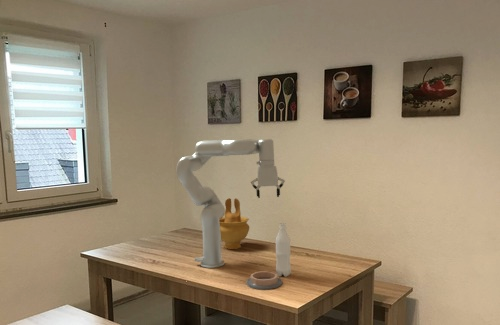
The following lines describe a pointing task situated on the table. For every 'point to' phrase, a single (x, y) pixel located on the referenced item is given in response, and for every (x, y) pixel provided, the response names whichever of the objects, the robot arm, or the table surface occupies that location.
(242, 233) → the decorative bowl
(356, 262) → the table surface
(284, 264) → the water bottle
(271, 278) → the ring plate
